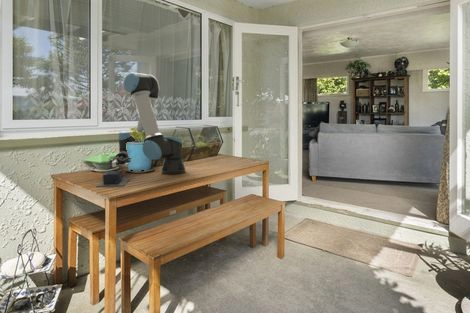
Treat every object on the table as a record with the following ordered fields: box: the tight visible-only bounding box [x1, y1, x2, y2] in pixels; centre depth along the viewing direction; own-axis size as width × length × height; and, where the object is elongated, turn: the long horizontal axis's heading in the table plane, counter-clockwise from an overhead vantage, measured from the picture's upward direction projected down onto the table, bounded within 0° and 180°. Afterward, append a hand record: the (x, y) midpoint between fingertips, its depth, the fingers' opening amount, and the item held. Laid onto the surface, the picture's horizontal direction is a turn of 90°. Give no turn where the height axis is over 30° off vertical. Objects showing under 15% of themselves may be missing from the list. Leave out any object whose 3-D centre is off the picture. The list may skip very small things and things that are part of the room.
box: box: [102, 170, 123, 184], centre depth 173 cm, size 8×6×11 cm
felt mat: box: [95, 176, 132, 188], centre depth 175 cm, size 14×20×1 cm
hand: (113, 164), depth 174 cm, fingers closed
